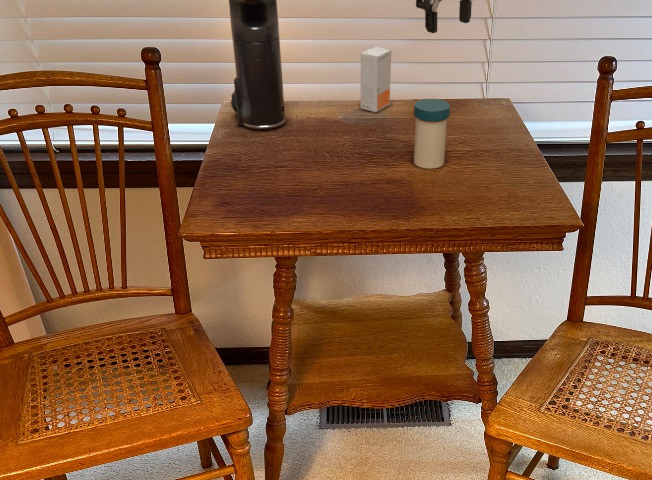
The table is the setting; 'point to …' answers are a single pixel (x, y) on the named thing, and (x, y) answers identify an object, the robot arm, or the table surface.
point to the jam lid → (431, 110)
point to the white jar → (430, 143)
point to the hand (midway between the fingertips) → (448, 27)
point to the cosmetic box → (375, 78)
